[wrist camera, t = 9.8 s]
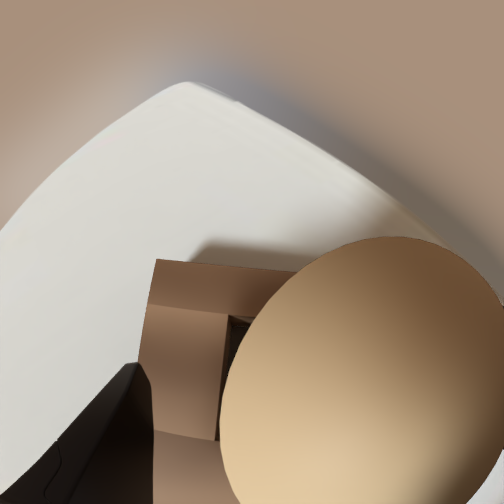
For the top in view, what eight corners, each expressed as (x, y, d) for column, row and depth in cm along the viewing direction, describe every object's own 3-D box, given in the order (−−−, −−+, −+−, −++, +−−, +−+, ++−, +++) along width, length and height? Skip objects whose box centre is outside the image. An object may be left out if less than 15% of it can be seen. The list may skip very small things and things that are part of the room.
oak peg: (293, 435, 13) (425, 572, 1) (222, 395, 13) (124, 475, 2) (335, 367, 14) (542, 317, 3) (267, 328, 15) (333, 168, 3)
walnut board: (346, 590, 7) (358, 611, 4) (150, 582, 7) (138, 603, 4) (393, 297, 16) (418, 281, 13) (171, 279, 16) (156, 258, 13)
